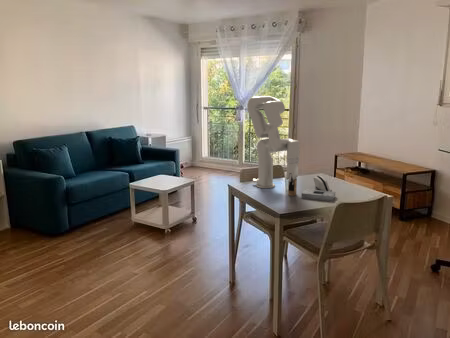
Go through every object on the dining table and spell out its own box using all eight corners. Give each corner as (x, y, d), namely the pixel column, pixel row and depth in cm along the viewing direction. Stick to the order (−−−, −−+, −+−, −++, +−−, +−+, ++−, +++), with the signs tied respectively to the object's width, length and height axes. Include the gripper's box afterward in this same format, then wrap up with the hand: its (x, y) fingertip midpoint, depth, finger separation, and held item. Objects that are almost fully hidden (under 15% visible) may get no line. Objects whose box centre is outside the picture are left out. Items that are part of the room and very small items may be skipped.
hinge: (332, 192, 232) (328, 178, 230) (325, 195, 232) (321, 181, 230) (322, 185, 248) (318, 172, 246) (316, 188, 248) (311, 174, 246)
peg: (288, 195, 229) (288, 179, 227) (290, 193, 232) (290, 177, 230) (294, 195, 227) (294, 179, 225) (296, 194, 231) (296, 178, 229)
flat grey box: (301, 198, 222) (301, 193, 222) (305, 193, 231) (305, 189, 231) (332, 201, 215) (332, 196, 214) (335, 196, 224) (335, 191, 223)
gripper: (290, 157, 234) (290, 185, 238) (282, 162, 219) (282, 192, 223) (302, 158, 231) (301, 187, 235) (295, 163, 216) (294, 194, 220)
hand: (292, 189), depth 229 cm, fingers closed on peg, 4 cm apart
